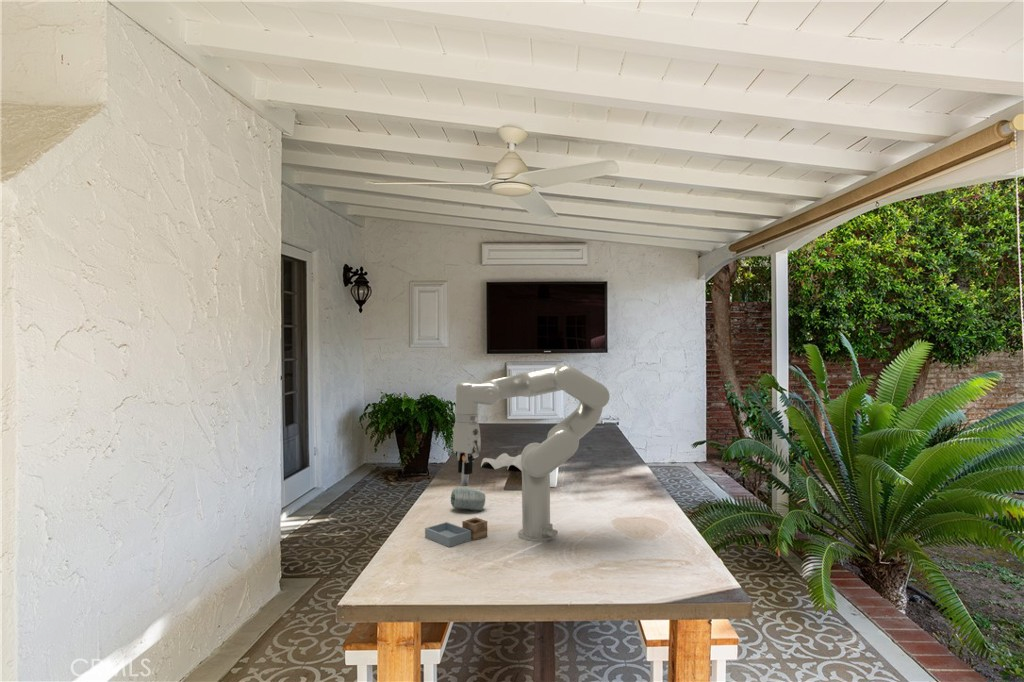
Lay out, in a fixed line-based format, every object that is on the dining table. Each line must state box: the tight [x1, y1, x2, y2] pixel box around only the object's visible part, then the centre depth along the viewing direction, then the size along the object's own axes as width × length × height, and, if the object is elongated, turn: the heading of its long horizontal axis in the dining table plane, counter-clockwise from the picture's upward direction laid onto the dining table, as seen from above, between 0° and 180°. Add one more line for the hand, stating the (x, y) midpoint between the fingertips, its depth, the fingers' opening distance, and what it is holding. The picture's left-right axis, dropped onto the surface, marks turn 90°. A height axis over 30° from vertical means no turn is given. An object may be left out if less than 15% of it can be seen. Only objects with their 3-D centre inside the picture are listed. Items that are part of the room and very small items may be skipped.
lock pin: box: [460, 455, 470, 487], centre depth 190 cm, size 2×2×10 cm
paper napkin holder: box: [480, 452, 522, 472], centre depth 287 cm, size 25×19×10 cm
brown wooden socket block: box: [461, 517, 488, 541], centre depth 191 cm, size 6×6×5 cm
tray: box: [424, 521, 472, 548], centre depth 189 cm, size 13×9×3 cm
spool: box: [450, 486, 486, 512], centre depth 220 cm, size 14×10×10 cm
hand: (465, 472), depth 190 cm, fingers closed on lock pin, 2 cm apart
